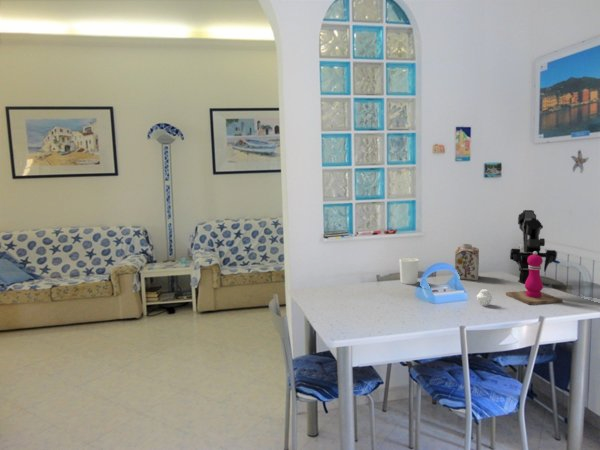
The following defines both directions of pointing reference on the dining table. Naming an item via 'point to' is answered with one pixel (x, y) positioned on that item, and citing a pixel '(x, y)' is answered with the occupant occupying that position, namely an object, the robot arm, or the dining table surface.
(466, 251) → the decorative jar
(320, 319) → the dining table surface
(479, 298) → the white rounded lump
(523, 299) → the walnut board
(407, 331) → the dining table surface
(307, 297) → the dining table surface
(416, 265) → the candle holder
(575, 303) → the dining table surface
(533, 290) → the pepper mill
